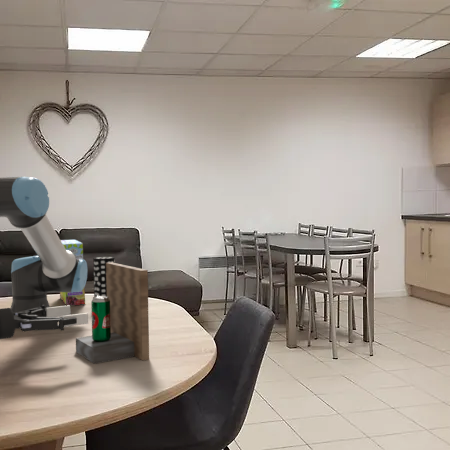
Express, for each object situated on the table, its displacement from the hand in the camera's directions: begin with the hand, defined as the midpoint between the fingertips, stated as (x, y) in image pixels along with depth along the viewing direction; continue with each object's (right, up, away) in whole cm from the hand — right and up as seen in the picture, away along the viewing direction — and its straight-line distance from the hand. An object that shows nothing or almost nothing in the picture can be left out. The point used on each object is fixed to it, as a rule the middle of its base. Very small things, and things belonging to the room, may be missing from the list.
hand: (78, 314), depth 153 cm
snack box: (-26, -9, +88) cm, 93 cm away
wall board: (+7, -12, +5) cm, 15 cm away
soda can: (+5, -8, +4) cm, 10 cm away
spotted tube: (-8, -9, +73) cm, 74 cm away
